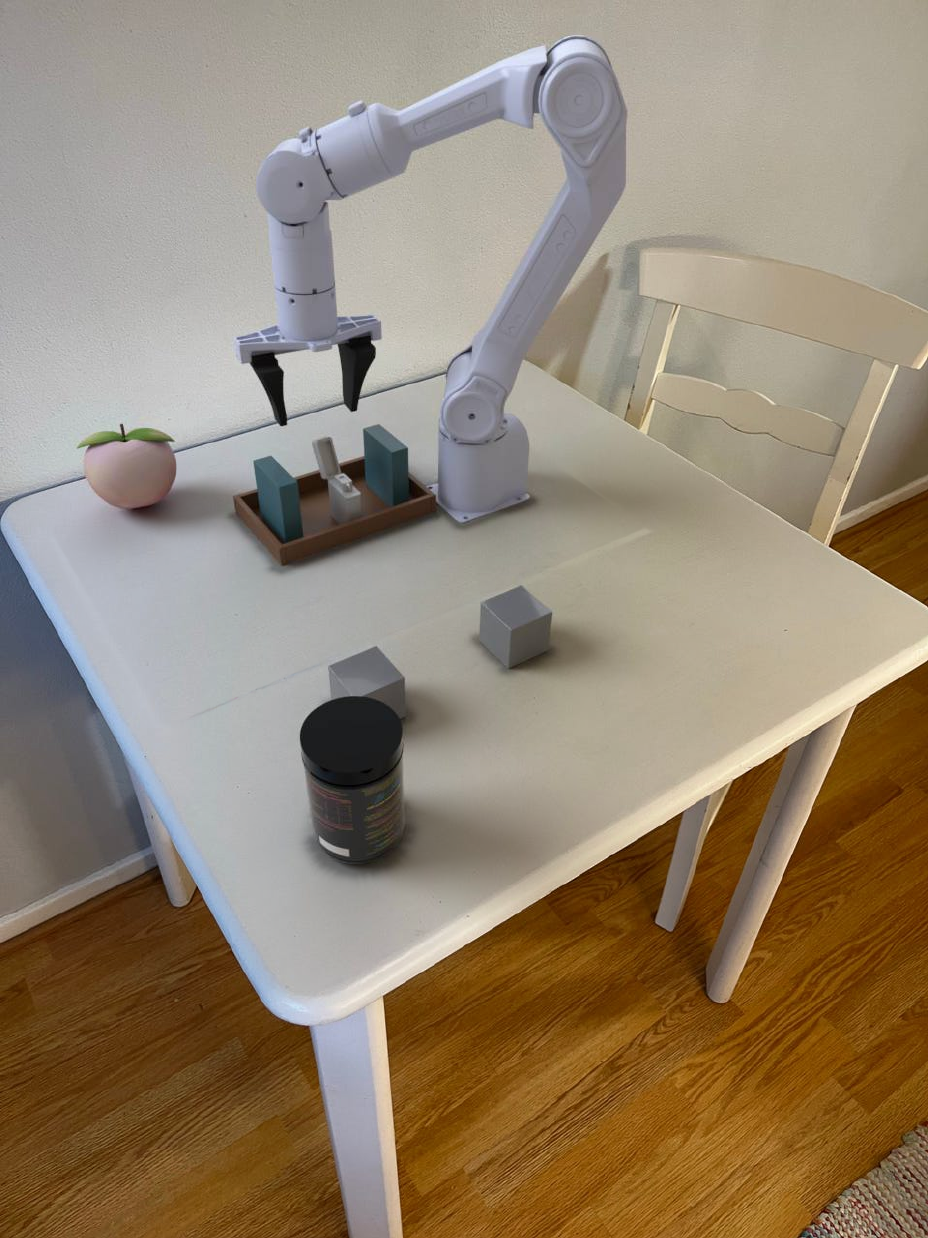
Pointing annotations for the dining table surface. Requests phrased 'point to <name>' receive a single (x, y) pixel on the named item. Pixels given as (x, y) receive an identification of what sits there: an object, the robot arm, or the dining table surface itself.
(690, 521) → the dining table surface
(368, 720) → the supplement container
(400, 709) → the grey cube
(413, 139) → the robot arm
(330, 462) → the lighter
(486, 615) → the grey cube
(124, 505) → the decorative fruit
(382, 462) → the slab
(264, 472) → the slab
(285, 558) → the tray
